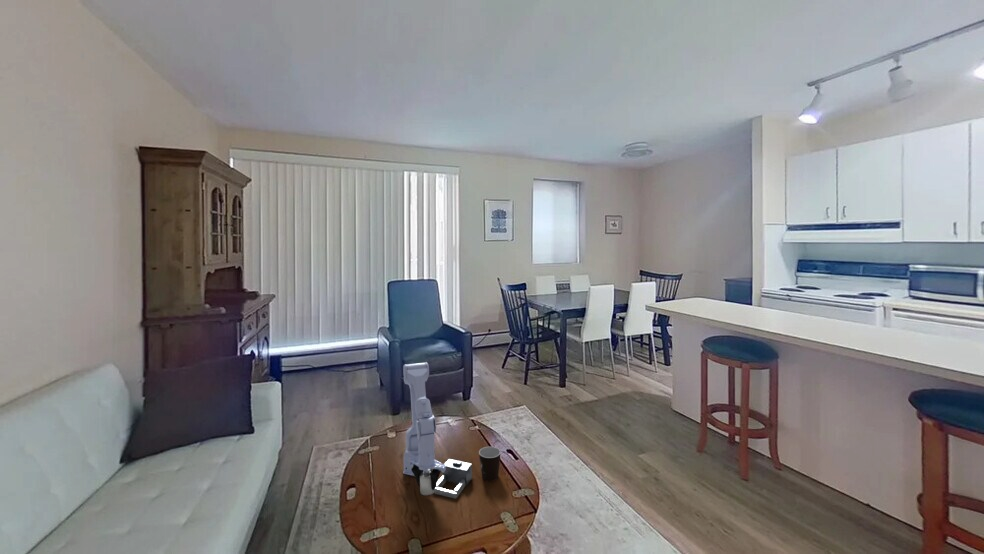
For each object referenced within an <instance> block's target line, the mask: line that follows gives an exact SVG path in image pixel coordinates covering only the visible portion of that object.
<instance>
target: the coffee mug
mask: <svg viewBox="0 0 984 554" xmlns="http://www.w3.org/2000/svg"><path fill="white" fill-rule="evenodd" d="M501 452H502V451H501V450H500V448H499V447H495V446H484V447H482V448H480V449H479V450H478V456H479V462H480V464H479V466H480V471H481V478H482V479H483V480H484V481H486V482H493V481H496V480H497V479H498V478H499V470H500V462H501V461H500V460H501V455H502V454H501Z"/></svg>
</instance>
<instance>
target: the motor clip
mask: <svg viewBox="0 0 984 554" xmlns="http://www.w3.org/2000/svg"><path fill="white" fill-rule="evenodd" d="M444 464H445V465H446V470H445V472H444V473H442V476H441V477H440V478H438V480H437V485H436V488H435V489H434V492H433V493H432V494H435V495H439V496H443V497H448V498H452V499H455V500H456V499H457V498H458V497H459V495H460V494H461V493H462V492H463V490H464V489H465V487H466V486H467V485H468V484H469V483H470V481H471V480H472V478H473V472H472V471H473V468H472V467H473V466H472V465H473V464H472V463H470V462H465V461H462V460H456V459H452V458H448V459H447V461H445V462H444ZM446 482H451V483H453V484H457V485H456V487H455V488H454V489H453V490H452V489H446V488H443V486H444V485H445V484H446Z"/></svg>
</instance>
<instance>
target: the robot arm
mask: <svg viewBox="0 0 984 554" xmlns="http://www.w3.org/2000/svg"><path fill="white" fill-rule="evenodd" d="M429 366H430V365H429V363H428V362H427V361H425V362H418V363H417V362H416V363H407V364H406V363H405V364H403V366H402V371H403V372H402V375H403V382H404V385H408V386H409V391H410V408H411V422H412V423H411V426H410V427H409V428H408V429H407V430H406V432H405V447H406V449H405V451H404V454H403V472H402V474H404V475H408V476H411V477H415V480H416V482H417V486H418V487H420V474H421V473H423V472H424V471H426V470H428V471H431V472H430V473H429V475H430V477H431V488H432V490H434V489H435V488H436V485H437V481H438V480H439V476H440V475H441V473H442V474H443V473H444V472H445V470H446V465H445V463H442V462H440V461H438V460H437V459H436V458H435V456H436V455H435V433H436V432H437V422H436V418H435V415H434V413H433V411H432V405H431V401H430V399H429V398H427V393H426V391H427V390H426V382H427V381H428V378H429V376H430V367H429Z"/></svg>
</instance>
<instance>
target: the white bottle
mask: <svg viewBox="0 0 984 554" xmlns="http://www.w3.org/2000/svg"><path fill="white" fill-rule="evenodd" d="M431 471H432V470H430V471H428V470H426V471H424V472H423V473H421V474H420V486H419V491H420V492H419V493H420V494H421V495H423V496H430V495H432V494H434V493H433V492H434V490H432V488H431V477H430V475H429V473H430V472H431Z"/></svg>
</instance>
